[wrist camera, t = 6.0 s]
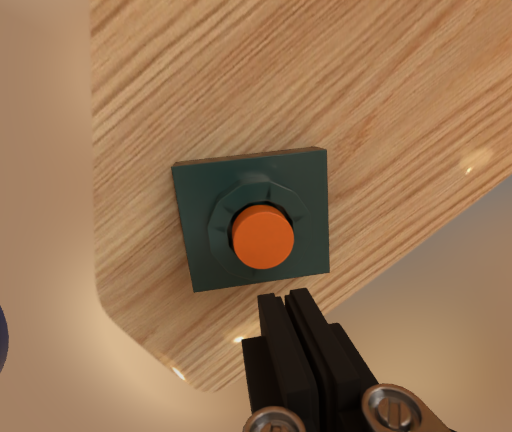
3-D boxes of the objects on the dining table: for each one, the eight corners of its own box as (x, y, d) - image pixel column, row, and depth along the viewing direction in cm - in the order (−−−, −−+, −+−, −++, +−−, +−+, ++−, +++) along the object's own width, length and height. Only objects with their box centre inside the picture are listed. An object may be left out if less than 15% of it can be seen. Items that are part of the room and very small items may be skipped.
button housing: (195, 278, 24) (191, 307, 21) (175, 162, 22) (166, 171, 18) (320, 260, 25) (339, 285, 21) (316, 146, 22) (337, 152, 19)
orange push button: (235, 260, 20) (237, 273, 19) (228, 208, 19) (229, 216, 18) (289, 253, 21) (296, 265, 19) (285, 200, 20) (292, 208, 18)
